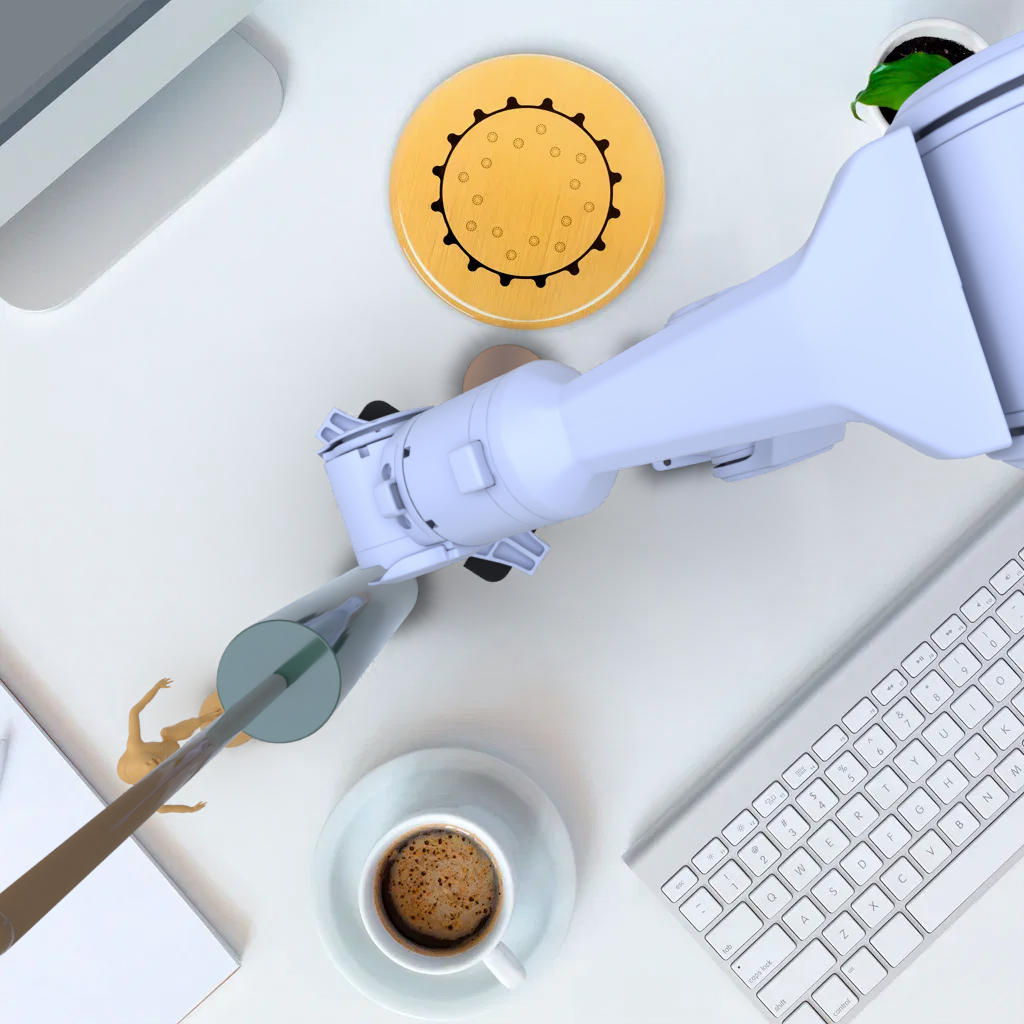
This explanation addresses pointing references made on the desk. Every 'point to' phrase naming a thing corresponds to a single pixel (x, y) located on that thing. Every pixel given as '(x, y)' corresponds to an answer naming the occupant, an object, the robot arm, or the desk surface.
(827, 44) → the desk surface
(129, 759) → the figurine
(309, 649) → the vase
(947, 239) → the robot arm
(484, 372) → the coaster
